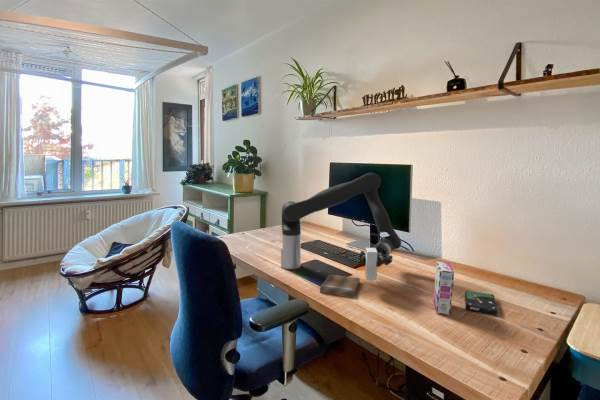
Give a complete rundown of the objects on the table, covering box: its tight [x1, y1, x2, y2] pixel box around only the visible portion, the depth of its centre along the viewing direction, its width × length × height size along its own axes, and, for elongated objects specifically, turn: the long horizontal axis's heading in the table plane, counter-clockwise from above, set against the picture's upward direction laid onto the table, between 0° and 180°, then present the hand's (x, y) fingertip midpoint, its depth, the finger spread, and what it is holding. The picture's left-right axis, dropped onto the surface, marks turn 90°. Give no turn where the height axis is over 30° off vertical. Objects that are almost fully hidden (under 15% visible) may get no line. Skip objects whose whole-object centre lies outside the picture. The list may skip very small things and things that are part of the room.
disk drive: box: [464, 290, 499, 317], centre depth 125 cm, size 10×3×15 cm
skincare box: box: [364, 247, 378, 281], centre depth 134 cm, size 6×4×12 cm
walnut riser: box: [319, 273, 361, 298], centre depth 141 cm, size 14×16×3 cm
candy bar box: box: [433, 261, 455, 316], centre depth 121 cm, size 11×5×16 cm, turn 163°
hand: (369, 263), depth 132 cm, fingers closed on skincare box, 6 cm apart
